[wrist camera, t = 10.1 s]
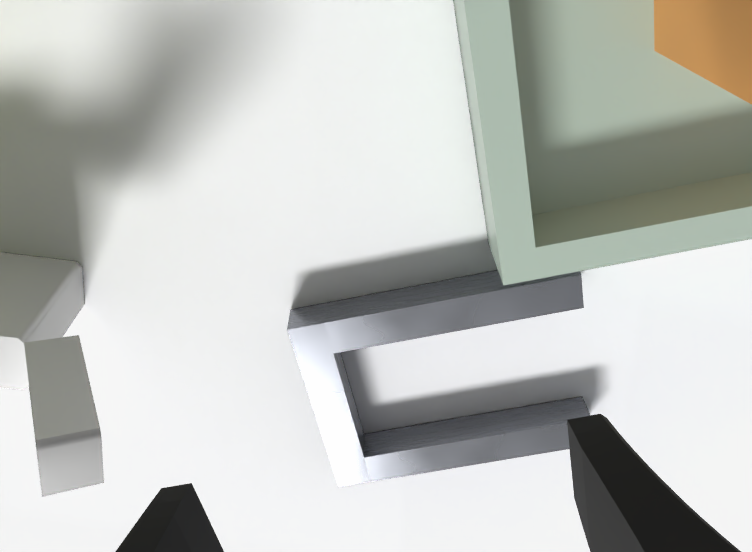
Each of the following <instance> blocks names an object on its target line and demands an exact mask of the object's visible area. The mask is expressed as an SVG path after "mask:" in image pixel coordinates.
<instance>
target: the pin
mask: <svg viewBox="0 0 752 552" xmlns="http://www.w3.org/2000/svg"><path fill="white" fill-rule="evenodd" d="M654 51H656V52H657V53H659V54H661V55H663V56H665V57H666V58H668V59H670V60H672V61H674V62H676V63H677V64H679V65H681V66H683V67H685V68H686V69H688V70H690V71H692V72H694V73H695V74H697V75H699V76H701V77H703V78H704V79H706V80H708V81H710V82H712V83H714V84H715V85H717V86H719V87H721V88H723V89H724V90H726V91H728V92H730V93H732V94H733V95H735V96H737V97H739V98H741V99H743V100H744V101H746V102H748V103H750V104H752V0H654Z"/></svg>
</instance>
